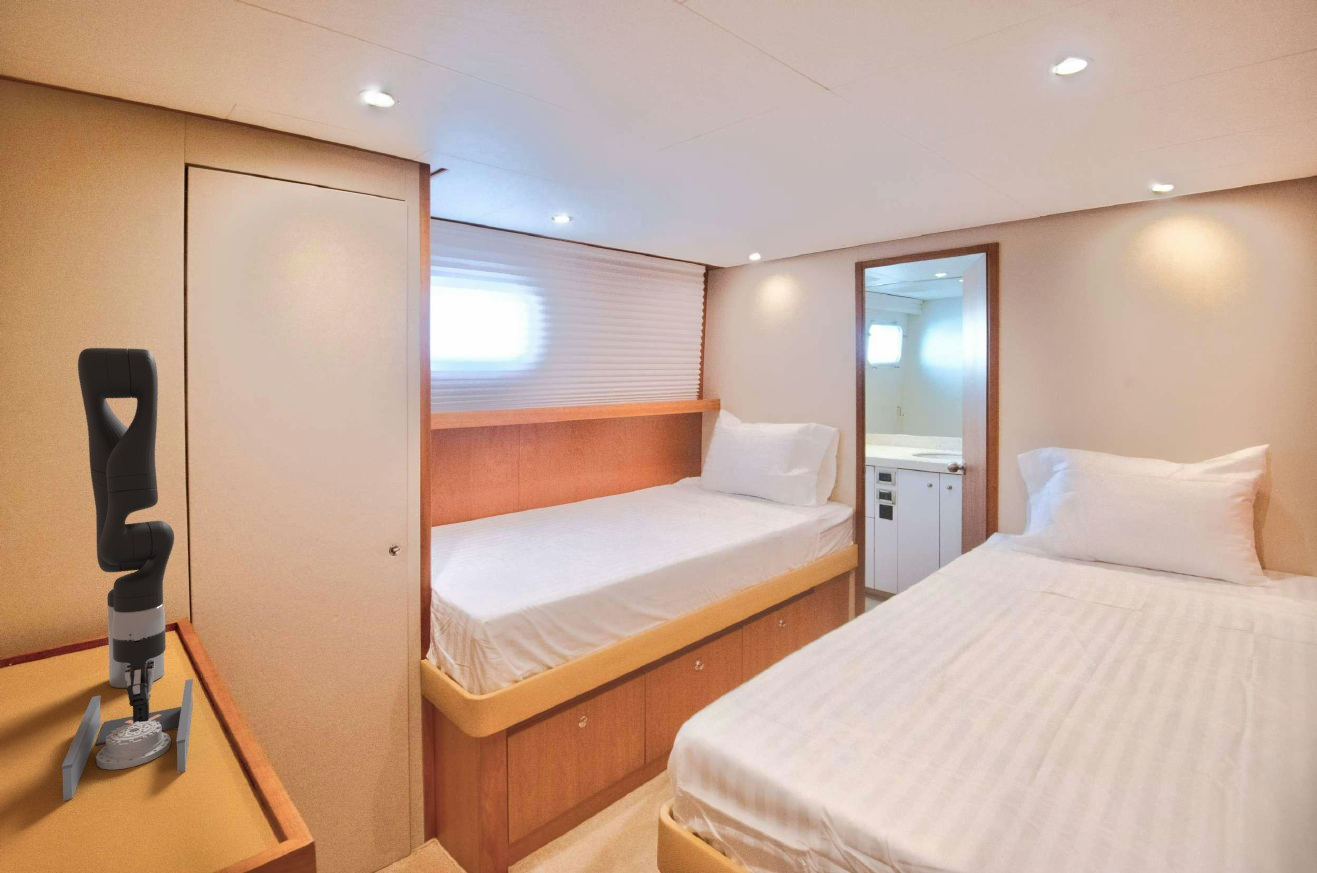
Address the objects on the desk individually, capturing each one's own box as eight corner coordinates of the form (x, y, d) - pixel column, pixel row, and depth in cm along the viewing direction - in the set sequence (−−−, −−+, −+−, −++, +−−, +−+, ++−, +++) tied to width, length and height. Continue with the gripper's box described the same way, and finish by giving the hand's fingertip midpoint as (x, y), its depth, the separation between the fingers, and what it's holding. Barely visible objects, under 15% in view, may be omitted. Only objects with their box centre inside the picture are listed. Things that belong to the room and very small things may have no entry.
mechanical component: (80, 766, 107) (128, 775, 105) (79, 740, 107) (127, 749, 105) (140, 735, 117) (184, 743, 115) (139, 712, 116) (184, 720, 114)
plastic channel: (92, 725, 119) (92, 696, 119) (193, 705, 128) (193, 678, 127) (62, 801, 98) (61, 766, 97) (185, 771, 106) (185, 739, 106)
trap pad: (104, 723, 120) (104, 721, 120) (183, 707, 127) (183, 705, 127) (95, 745, 113) (95, 743, 113) (180, 727, 119) (180, 725, 119)
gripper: (117, 622, 120) (120, 711, 121) (106, 646, 109) (109, 744, 111) (167, 616, 125) (169, 702, 126) (162, 638, 114) (163, 732, 115)
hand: (141, 721), depth 118 cm, fingers closed
